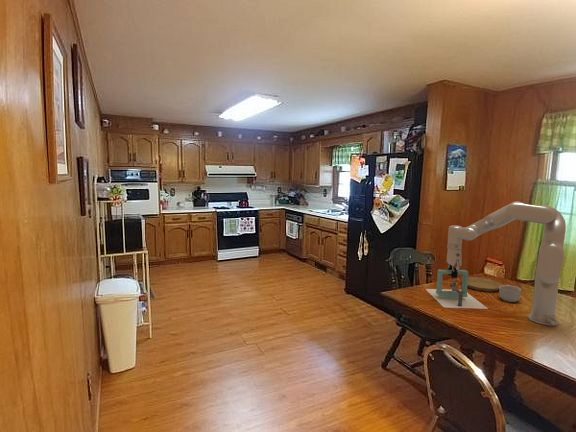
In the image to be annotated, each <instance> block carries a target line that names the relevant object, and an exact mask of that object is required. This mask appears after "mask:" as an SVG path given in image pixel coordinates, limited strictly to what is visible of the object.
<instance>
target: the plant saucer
mask: <svg viewBox="0 0 576 432" xmlns="http://www.w3.org/2000/svg"><path fill="white" fill-rule="evenodd" d="M460 280H461V282H462V278H461V279H460ZM502 285H503V284H502V283H501V282H499V281H497V280H493V279H489V278H485V277H479V276H478V277H477V276H476V277H475V276H470V277H469V276H468V284H467V289H471V290H474V291H479V292H480V291H481V292H486V293H487V292H488V293H489V292H497V291H499V287H500V286H502Z"/></svg>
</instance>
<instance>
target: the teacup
mask: <svg viewBox="0 0 576 432" xmlns="http://www.w3.org/2000/svg"><path fill="white" fill-rule="evenodd" d="M498 291H499V292H498V293H499V294H498V295H499V297H500V299H502V300H503V301H505V302H509V303H516V302H518V301H520V299H521V291H522V288H520V287H518V286H515V285H510V284H506V285H505V284H502V286H500V287H499V290H498Z"/></svg>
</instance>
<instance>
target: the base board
mask: <svg viewBox="0 0 576 432" xmlns="http://www.w3.org/2000/svg"><path fill="white" fill-rule="evenodd" d="M436 290H437V288H425V291H427V293H428V294H430V295H431V297H433V299H435V300H436V301H437V302H438V303H439V304H440V306H442V307H443V308H444V309H445V308H450V309H478V310H479V309H482V310H483V309H484V310H485V309H487V310H488V309H489V307H487V306H485V305H484V304H482V302H480V301H479V300H478V299H476V298H475V297H474V296H472V295H471V294H469V293H468V292H467V295H468V296H467V297H462V306H461V307H460V306H458V297H443V296H439V295H438V294H436ZM459 290H460V291H461V289H459ZM442 291H452V289H447V288H445V289H443V288H442Z"/></svg>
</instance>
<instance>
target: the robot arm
mask: <svg viewBox="0 0 576 432" xmlns="http://www.w3.org/2000/svg"><path fill="white" fill-rule="evenodd" d="M515 220H518V221H523V222H529V223H535V224H539V225H540V224H541V225H542V224H543V231H542V232H543V233H542V234H543V235H542V239H541V244H540V246H539V250H538V256H537V262H536V267H535V278H534V288H533V295H532V296H533V297H532V305H531V313H529V314H527V319H528V320H529V321H531V322H533V323H536V324H539V325H543V326H557V325H558V324H559V320H558V319H557V316H556V310H557V300H558V292H559V282H560V279H561V278H560V277H561V273H562V270H563V264H564V258H565V257H564V256H565V249H564V244H565V238H566V232H567V231H566V228H567V226H566V225H567V224H566V219H565V217H564V215H563V214H562V213H561V212H560V211H559V210H558V209H556V208H554V207H552V206H550V205H546V204H542V205H534V204H528V203H527V204H526V203H523V202H522V201H513V202H511V203H509V204H507V205H505V206H503V207H501V208H499V209H497V210H495V211H493V212H491V213H489V214H488V215H486V216H485V217H484V218H482V219H480V220H478V221H475V222H473V223H472V224H470V225H468V226H465V227H463V226H461V225H449V226H448V229H447V230H448V233H447V246H446V249H447V253H446V263H447V265H448V266H447V270H452V274H447V275H448V276H450V277H451V278H452V279H457V278H458V275H459V274H458V270H460V268H461V267H462V264H463V263H462V262H463V260H462V259H463V258H462V257H463V256H462V254H463V253H462V247H463V240H465V241H473V240H475V239H476V238H477V237H479V236H481V235H483V234H485V233H488V232H490V231H493V230H495V229H499V228H501V227H503V226H505V225H507V224H509V223H512V222H513V221H515Z"/></svg>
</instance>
